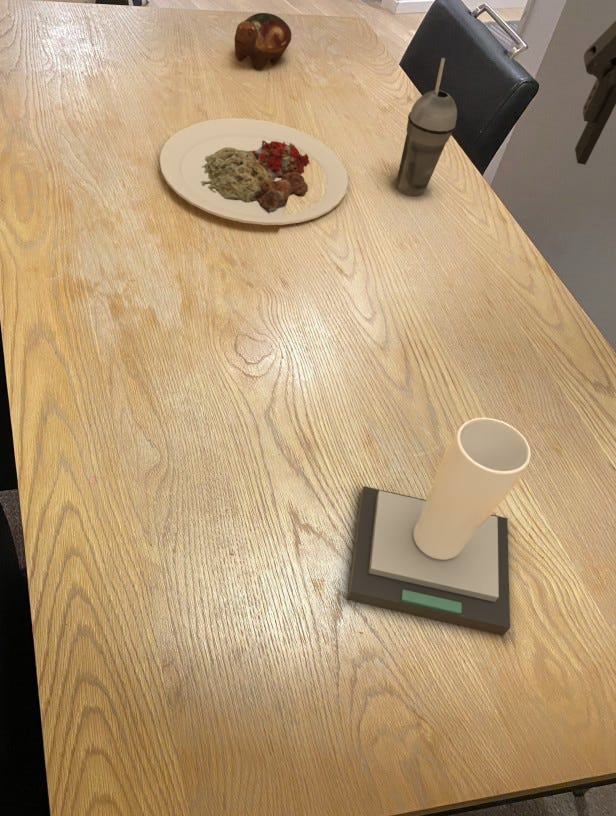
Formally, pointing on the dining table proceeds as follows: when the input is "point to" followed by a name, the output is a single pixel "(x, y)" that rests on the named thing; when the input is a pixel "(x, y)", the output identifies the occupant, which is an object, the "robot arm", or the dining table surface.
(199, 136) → the plated food
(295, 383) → the dining table surface
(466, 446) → the drinking glass
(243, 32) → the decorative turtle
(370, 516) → the scale
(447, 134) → the beverage cup
